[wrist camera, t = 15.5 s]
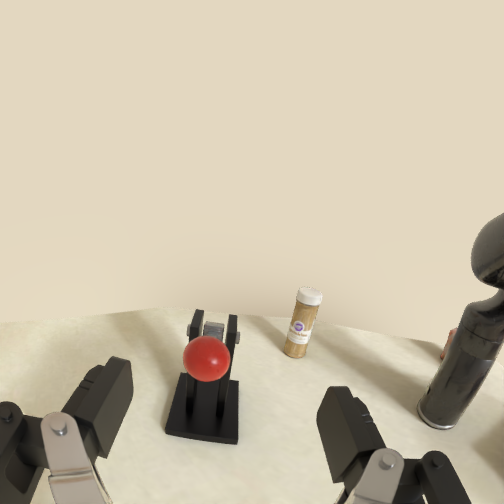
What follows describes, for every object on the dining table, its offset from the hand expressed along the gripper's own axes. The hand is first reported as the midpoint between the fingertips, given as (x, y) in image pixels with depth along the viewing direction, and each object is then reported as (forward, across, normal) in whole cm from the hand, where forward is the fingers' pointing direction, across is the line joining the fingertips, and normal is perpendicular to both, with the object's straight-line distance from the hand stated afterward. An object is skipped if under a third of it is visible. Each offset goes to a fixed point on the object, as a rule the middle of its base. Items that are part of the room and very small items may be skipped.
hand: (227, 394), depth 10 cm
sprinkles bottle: (+37, -14, +22) cm, 46 cm away
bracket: (+19, +1, +22) cm, 29 cm away
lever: (+13, +1, +9) cm, 16 cm away
